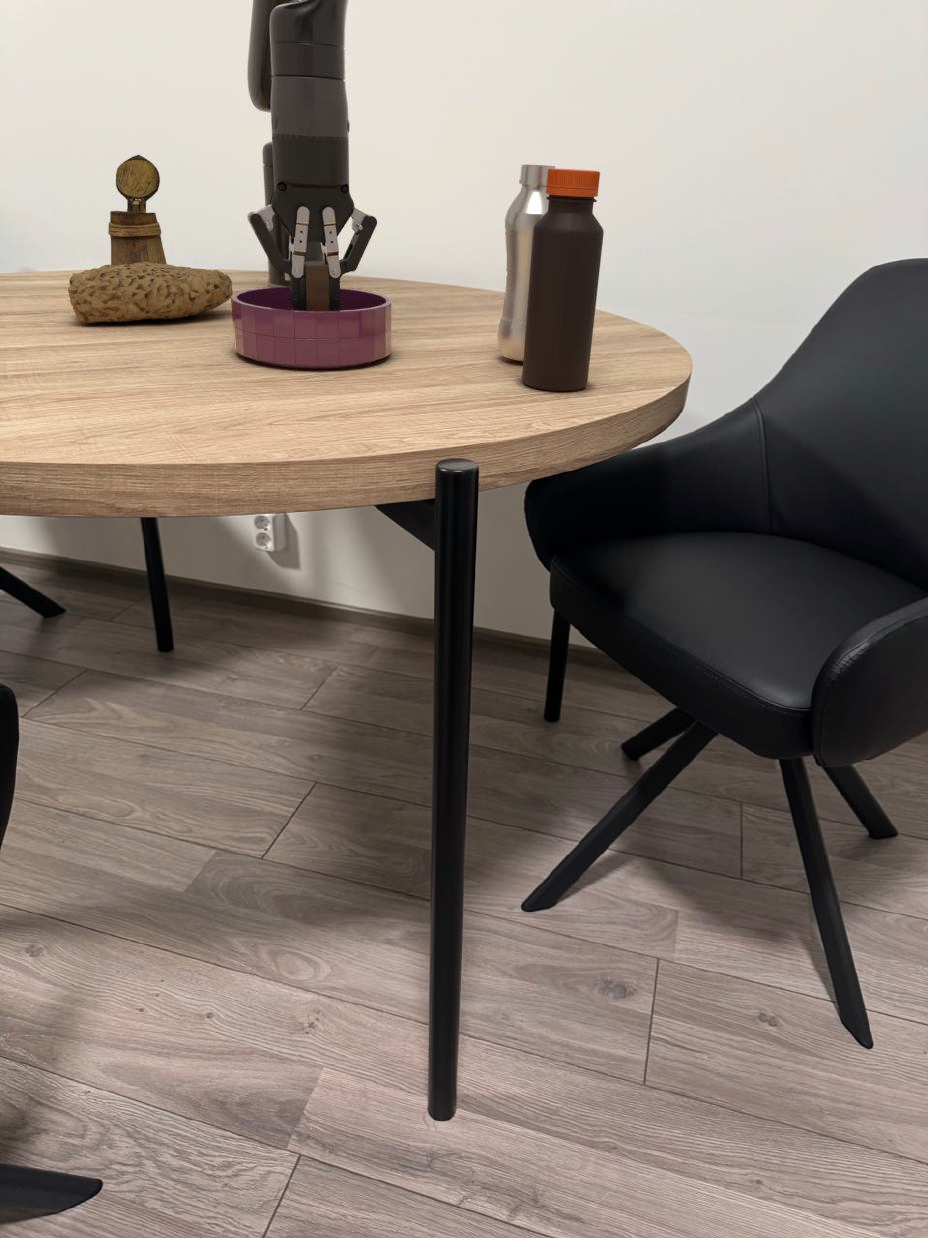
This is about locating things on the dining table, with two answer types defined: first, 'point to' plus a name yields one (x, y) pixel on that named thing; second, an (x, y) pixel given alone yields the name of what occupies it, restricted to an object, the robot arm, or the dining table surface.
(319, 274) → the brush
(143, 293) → the sponge
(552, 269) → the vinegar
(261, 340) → the bowl
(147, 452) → the dining table surface
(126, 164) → the brown wooden stand
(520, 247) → the silver metal bottle
